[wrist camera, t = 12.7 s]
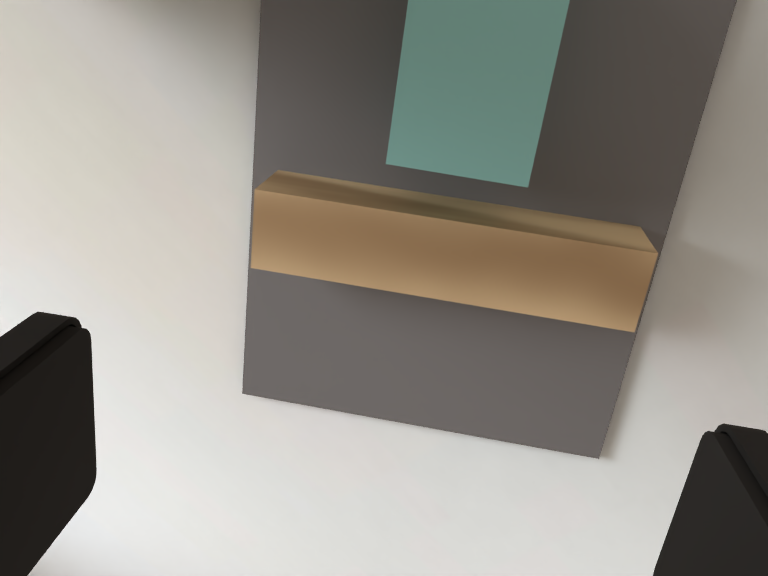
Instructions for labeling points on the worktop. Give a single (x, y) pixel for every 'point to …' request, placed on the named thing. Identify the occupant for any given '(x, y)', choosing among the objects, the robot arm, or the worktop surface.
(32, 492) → the robot arm
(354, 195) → the oak ledge
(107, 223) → the worktop surface
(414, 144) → the teal block
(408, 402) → the rubber mat
